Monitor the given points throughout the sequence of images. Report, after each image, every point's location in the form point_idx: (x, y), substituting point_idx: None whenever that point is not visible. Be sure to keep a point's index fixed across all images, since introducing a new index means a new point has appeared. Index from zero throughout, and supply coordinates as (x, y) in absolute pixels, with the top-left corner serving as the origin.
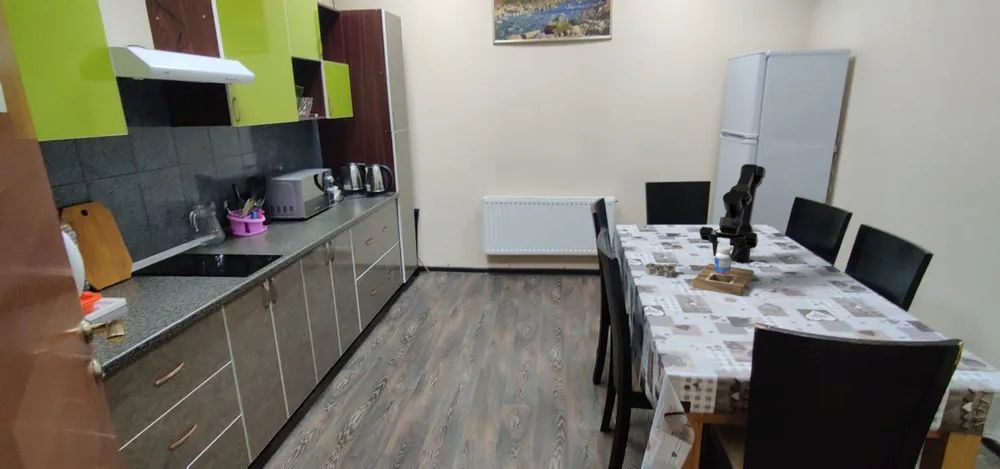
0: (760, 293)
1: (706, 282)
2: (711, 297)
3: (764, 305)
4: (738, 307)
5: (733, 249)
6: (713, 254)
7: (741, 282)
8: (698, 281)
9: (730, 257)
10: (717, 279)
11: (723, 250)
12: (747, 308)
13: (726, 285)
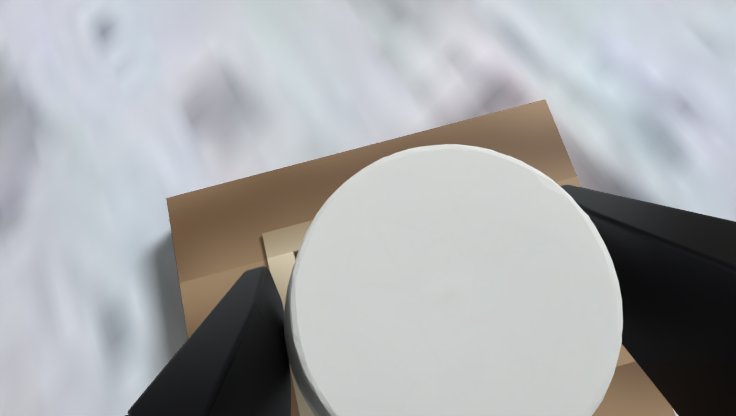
0: (96, 382)
1: (443, 138)
2: (328, 57)
3: (13, 177)
4: (134, 36)
5: (212, 374)
6: (565, 185)
7: None
8: (501, 113)
9: (286, 298)
10: None
11: (386, 161)
12: (86, 60)
13: (291, 191)
